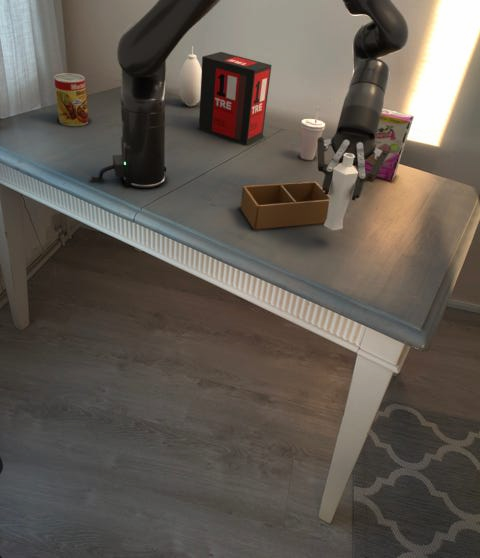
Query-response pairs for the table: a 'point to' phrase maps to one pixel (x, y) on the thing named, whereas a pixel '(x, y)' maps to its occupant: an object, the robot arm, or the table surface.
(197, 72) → the sauce bottle
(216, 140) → the table surface
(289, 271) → the table surface
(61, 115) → the canned food
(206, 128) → the cleaning product box
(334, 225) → the perfume bottle
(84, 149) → the table surface
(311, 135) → the smoothie
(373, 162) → the candy bar box
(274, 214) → the divided tray
